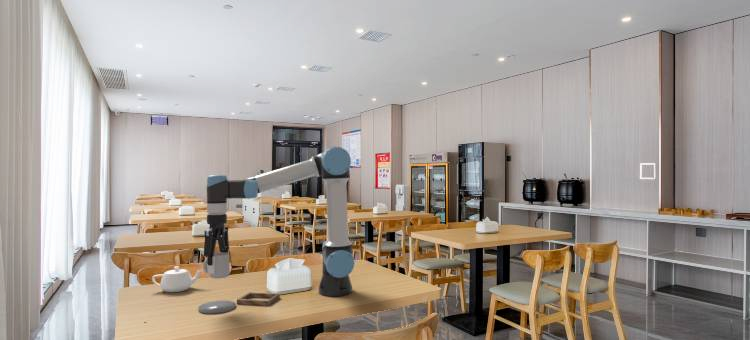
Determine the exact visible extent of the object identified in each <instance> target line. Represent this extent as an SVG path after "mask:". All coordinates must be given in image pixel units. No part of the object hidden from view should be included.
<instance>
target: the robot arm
mask: <svg viewBox="0 0 750 340" xmlns="http://www.w3.org/2000/svg"><path fill="white" fill-rule="evenodd" d="M351 163H352V159H351V156H350V154H349V152H348V151H347V150H346V149H345V148H343V147H340V146H331V147H329V148H327V149H326V150H324V151H322V152H320V153H319V154H316V155H313V156H311V158H310V159H307V160H304V161H301V162H297V163H294V164H290V165H288V166H285V167H281V168H278V169H274V170H272V171H268V172H264V173H262V174H259V175H258V174H257V175H254V176H252V177H248V178H244V179H228V176H227V174H226V175H224V174H223V175H222V174H221V175H220V174H217V175H216V174H214V175H213V174H212V175H210V174H209V175H208V176H207V179H206V213H207V215H206V224H208V225H209V229H207V230H204V232H203V233H204V243H203V244H204V247H203V256H204V258H207V268H208V275H210V274H215V257H213V256H214V253H215V250H216V246H218V248H219V249H218V250H219V253H222V252H225V253H229V250H230V244H229V243H230V241H229V226H225V224H227V223H228V214H226V213H227V211H228V199H229V200H231V199H240V200H242V199H247V200H250V199H257V197H258V194H260V193H264V192H267V191H270V190H272V189H277V188H280V187H283V186H286V185H289V184H293V183H297V182H299V181H303V180H305V179H309V178H313V177H315V176H316V177H317V178H319V177H321V180H322V181H323V182H324V183H325V191H326V192H325V193H326V218H327V219H326V220H327V222H326V224H327V240H325V241H324V242H322V247H321V250H322V257H321V258H322V275H321V279H320V283H319V285H318V294H319V295H321V296H326V297H341V296H348V295H350V294H352V292H353V285H352V281H351V279H350V276H349V275H350V274H351V273H352V272H353V271H354V267H355V258H354V256H353V242H352V241H351V240H350V239H349V222H348V221H349V220H348V218H349V217H348V192H347V190H348V189H347V183H348V181H349V180H350V178H351V177H350V175H351V173H350V168H351ZM217 244H218V245H217Z"/></svg>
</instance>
